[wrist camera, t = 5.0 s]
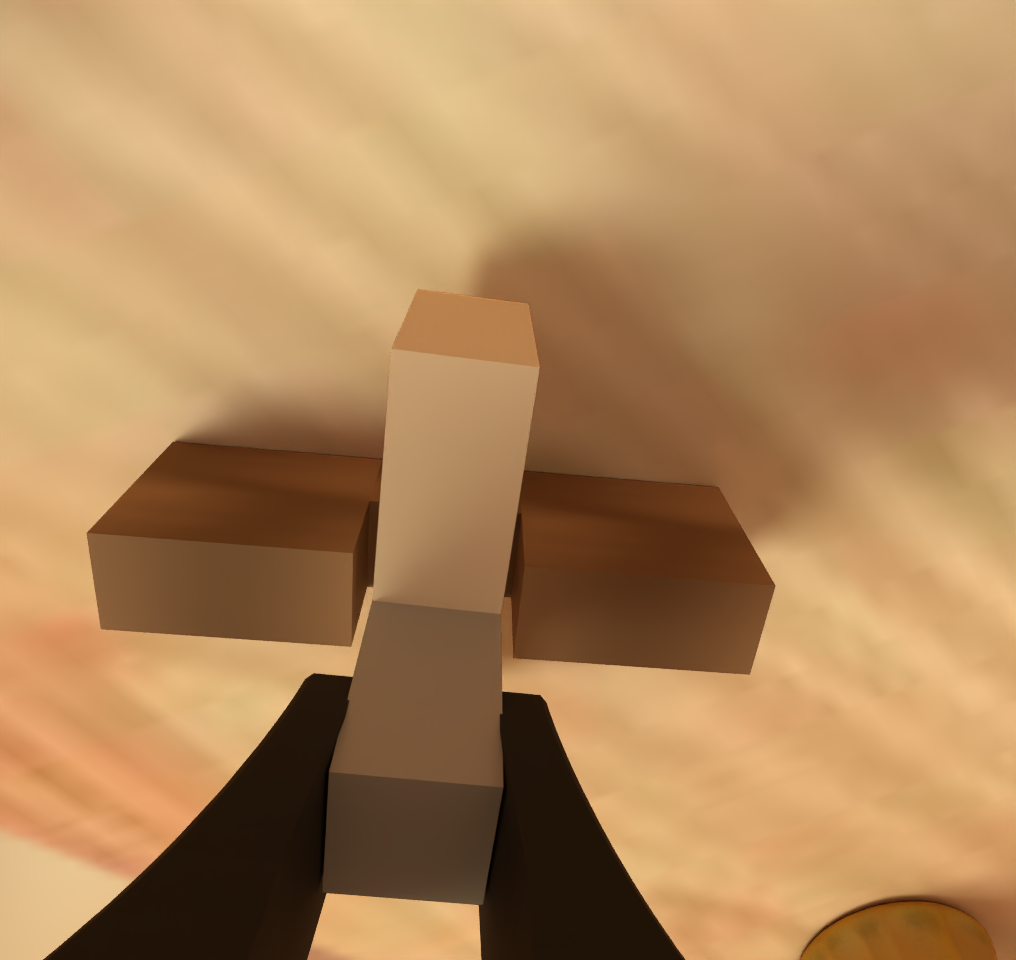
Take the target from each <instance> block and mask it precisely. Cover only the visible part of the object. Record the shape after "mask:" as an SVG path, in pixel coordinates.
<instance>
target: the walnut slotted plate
mask: <svg viewBox="0 0 1016 960" xmlns="http://www.w3.org/2000/svg"><path fill="white" fill-rule="evenodd" d="M382 465H383V459H373V458H361V457H349V456H337V455H325V454H313V453H301V452H289V451H277V450H265V449H253V448H241V447H229V446H217V445H205V444H193V443H181V442H172V443H171V444H170V446H169V447H168V448H167V449H166V450H165V451H164V452H163V453H162V454H161V455H160V456H159V457H158V458H157V459H156V460H155V461H154V462H153V463H152V465H151V466H150V467H149V468H148V469H147V470H146V471H145V472H144V473H143V474H142V475H141V476H140V477H139V478H138V479H137V480H136V481H135V482H134V484H133V485H132V486H131V487H130V488H129V489H128V490H127V491H126V492H125V493H124V494H123V495H122V496H121V497H120V498H119V499H118V500H117V501H116V503H115V504H114V505H113V506H112V507H111V508H110V509H109V510H108V511H107V512H106V513H105V514H104V515H103V516H102V517H101V518H100V519H99V521H98V522H97V523H96V524H95V525H94V526H93V527H92V528H91V529H90V530H89V531H88V532H87V538H88V545H89V552H90V559H91V565H92V572H93V579H94V585H95V592H96V599H97V606H98V612H99V619H100V626H101V629H106V630H120V631H134V632H149V633H163V634H177V635H191V636H206V637H220V638H234V639H249V640H263V641H277V642H291V643H306V644H320V645H334V646H348V647H351V646H352V642H353V638H354V634H355V631H356V627H357V623H358V619H359V615H360V612H361V608H362V604H363V600H364V597H365V593H366V589H367V587H373V585H374V572H375V558H376V545H377V532H378V518H379V505H380V492H381V479H382ZM774 589H775V584H774V582H773V581H772V579H771V577H770V575H769V574H768V572H767V570H766V569H765V567H764V565H763V563H762V562H761V560H760V558H759V556H758V555H757V553H756V551H755V550H754V548H753V546H752V544H751V543H750V541H749V539H748V538H747V536H746V534H745V532H744V531H743V529H742V527H741V525H740V524H739V522H738V520H737V519H736V517H735V515H734V513H733V512H732V510H731V508H730V506H729V505H728V503H727V501H726V500H725V498H724V496H723V494H722V493H721V491H720V489H719V488H718V487H709V486H697V485H685V484H673V483H661V482H649V481H637V480H625V479H613V478H601V477H589V476H577V475H565V474H553V473H541V472H529V471H523V478H522V484H521V491H520V497H519V503H518V510H517V516H516V523H515V529H514V535H513V542H512V548H511V555H510V561H509V567H508V574H507V580H506V587H505V593H504V597H511V601H512V631H513V658H520V659H534V660H548V661H563V662H577V663H591V664H606V665H620V666H634V667H648V668H663V669H677V670H691V671H705V672H720V673H734V674H748V675H750V672H751V669H752V665H753V662H754V658H755V655H756V651H757V648H758V644H759V641H760V638H761V634H762V631H763V627H764V624H765V620H766V617H767V613H768V610H769V606H770V603H771V599H772V596H773V592H774Z"/></svg>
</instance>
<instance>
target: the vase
mask: <svg viewBox="0 0 1016 960" xmlns="http://www.w3.org/2000/svg"><path fill="white" fill-rule="evenodd" d="M800 960H997V957H996V953H995V949H994V946H993V943H992V941H991V939H990V937H989V935H988V933H987V932H986V930H985V929H984V928H983V927H982V926H981V925H980V923H979V922H977V921H976V920H975V919H974V918H972V917H971V916H969V915H967V914H966V913H964V912H962V911H960V910H957V909H955V908H952V907H949V906H946V905H942V904H937V903H932V902H922V901H908V902H895V903H888V904H883V905H878V906H874V907H870V908H867V909H864V910H861V911H859V912H856V913H853V914H851V915H849V916H847V917H845V918H843V919H841V920H839V921H838V922H836V923H834V924H833V925H831V926H829V927H828V928H827V929H825V930H824V931H823V932H821V933H820V934H819V935H818V936H817V937H816V938H815V939H814V940H813V941H812V942H811V944H810V945H809V946H808V947H807V949H806V950H805V952H804V953H803V955H802V957H801V959H800Z"/></svg>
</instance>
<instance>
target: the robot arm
mask: <svg viewBox="0 0 1016 960" xmlns="http://www.w3.org/2000/svg"><path fill="white" fill-rule="evenodd" d="M352 679H353V677H346V676H336V675H326V674H315V673H314V674H312V675H311V676H309V677H308V678H306V679H305V680H304V682H303V684H302V685H301V687H300V688H299V690H298V692H297V693H296V695H295V696H294V698H293V699H292V701H291V702H290V703H289V705H288V706H287V708H286V709H285V711H284V712H283V713H282V715H281V716H280V718H279V719H278V720H277V722H276V723H275V724H274V726H273V727H272V728H271V730H270V731H269V732H268V734H267V735H266V736H265V737H264V739H263V740H262V741H261V743H260V744H259V745H258V746H257V748H256V749H255V750H254V751H253V752H252V754H251V755H250V756H249V757H248V759H247V760H246V761H245V762H244V763H243V765H242V766H241V767H240V768H239V770H238V771H237V772H236V773H235V774H234V776H233V777H232V778H231V779H230V780H229V782H228V783H227V784H226V785H225V786H224V787H223V789H222V790H221V791H220V792H219V793H218V794H217V795H216V796H215V797H214V799H213V800H212V801H211V802H210V803H209V804H208V805H207V806H206V807H205V808H204V809H203V810H202V812H201V813H200V814H199V815H198V816H197V817H196V818H195V819H194V820H193V821H192V822H191V823H190V825H189V826H188V827H187V828H186V829H185V830H184V831H183V832H182V833H181V834H180V835H179V836H178V837H177V838H176V840H175V841H174V842H173V843H172V844H171V845H170V846H169V847H168V848H167V849H166V850H165V851H164V852H163V853H162V854H161V855H160V856H159V857H158V858H157V859H156V860H155V861H154V862H153V863H152V864H151V865H149V866H148V867H147V868H146V869H145V870H144V871H143V872H142V873H141V874H140V875H139V876H138V877H137V878H136V879H135V880H134V881H133V882H132V883H131V884H129V885H128V886H127V887H126V888H125V889H124V890H123V891H122V892H121V893H120V894H119V895H118V896H117V897H116V898H114V899H113V900H112V901H111V902H110V903H109V904H108V905H107V906H105V907H104V908H103V909H102V910H101V911H100V912H99V913H98V914H96V915H95V916H94V917H93V918H92V919H91V920H89V921H88V922H87V923H86V924H85V925H83V926H82V927H81V928H80V929H79V930H78V931H77V932H75V933H74V934H73V935H72V936H71V937H70V938H68V939H67V940H66V941H65V942H64V943H63V944H62V945H61V946H59V947H58V948H57V949H56V950H54V951H53V952H52V953H51V954H49V955H48V956H47V957H46V958H45V959H43V960H307V958H308V955H309V951H310V948H311V944H312V941H313V938H314V934H315V931H316V927H317V924H318V920H319V917H320V914H321V910H322V907H323V903H324V900H325V896H326V893H323V875H324V856H325V838H326V819H327V801H328V782H329V770H330V766H331V762H332V758H333V754H334V750H335V746H336V742H337V738H338V735H339V733H340V730H341V727H342V725H343V722H344V719H345V716H346V712H347V708H348V704H349V700H347V699H348V695H349V691H350V687H351V683H352ZM500 736H501V744H502V751H503V792H502V798H501V804H500V809H499V815H498V821H497V826H496V832H495V837H494V843H493V849H492V854H491V860H490V866H489V871H488V877H487V883H486V888H485V894H484V900H483V905H479V918H480V938H481V958H482V960H685V958H684V957H683V956H682V954H681V953H680V952H679V950H678V949H677V948H676V946H675V945H674V943H673V942H672V940H671V939H670V937H669V936H668V934H667V933H666V932H665V930H664V929H663V927H662V926H661V924H660V923H659V921H658V920H657V918H656V917H655V915H654V914H653V912H652V911H651V909H650V908H649V906H648V905H647V903H646V902H645V900H644V898H643V897H642V895H641V894H640V892H639V890H638V889H637V887H636V886H635V884H634V882H633V881H632V879H631V877H630V876H629V874H628V872H627V871H626V869H625V867H624V866H623V864H622V862H621V860H620V859H619V857H618V855H617V854H616V852H615V850H614V849H613V847H612V845H611V843H610V841H609V839H608V838H607V836H606V834H605V832H604V830H603V829H602V827H601V825H600V823H599V821H598V819H597V817H596V815H595V813H594V811H593V809H592V807H591V805H590V803H589V801H588V799H587V797H586V795H585V793H584V792H583V790H582V788H581V785H580V783H579V781H578V779H577V777H576V775H575V773H574V771H573V768H572V766H571V764H570V762H569V759H568V757H567V755H566V753H565V750H564V748H563V746H562V743H561V741H560V738H559V736H558V733H557V731H556V728H555V726H554V723H553V720H552V718H551V715H550V712H549V709H548V706H547V703H546V701H545V700H544V699H543V698H542V697H541V695H533V694H522V693H512V692H502V714H500Z"/></svg>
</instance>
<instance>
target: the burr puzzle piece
mask: <svg viewBox="0 0 1016 960" xmlns="http://www.w3.org/2000/svg"><path fill="white" fill-rule="evenodd" d="M539 369H540V366H539V360H538V355H537V349H536V344H535V338H534V332H533V327H532V321H531V316H530V310H529V304H527V303H520V302H512V301H505V300H497V299H490V298H482V297H474V296H467V295H459V294H452V293H444V292H437V291H429V290H421V289H418V290H417V292H416V294H415V297H414V299H413V301H412V303H411V305H410V308H409V310H408V312H407V314H406V317H405V319H404V321H403V323H402V326H401V328H400V330H399V332H398V335H397V337H396V339H395V341H394V344H393V346H392V348H391V359H390V372H389V385H388V399H387V412H386V425H385V439H384V452H383V465H382V479H381V492H380V505H379V518H378V532H377V545H376V558H375V572H374V585H373V598H372V604H371V608H370V612H369V616H368V620H367V624H366V628H365V632H364V636H363V640H362V644H361V647H360V651H359V655H358V659H357V663H356V667H355V671H354V675H353V679H352V683H351V687H350V691H349V695H348V699H347V700H349V704H348V708H347V712H346V716H345V719H344V722H343V725H342V727H341V730H340V733H339V735H338V738H337V742H336V746H335V750H334V754H333V758H332V762H331V766H330V770H329V782H328V801H327V819H326V838H325V856H324V875H323V893H334V894H347V895H359V896H372V897H385V898H398V899H410V900H423V901H436V902H449V903H461V904H474V905H483V900H484V894H485V888H486V883H487V877H488V871H489V866H490V860H491V854H492V849H493V843H494V837H495V832H496V826H497V821H498V815H499V809H500V804H501V798H502V792H503V751H502V744H501V736H500V714H502V640H501V612H502V606H503V599H504V593H505V587H506V580H507V574H508V567H509V561H510V555H511V548H512V542H513V535H514V529H515V523H516V516H517V510H518V503H519V497H520V491H521V484H522V478H523V471H524V465H525V459H526V452H527V446H528V440H529V433H530V427H531V420H532V414H533V408H534V401H535V395H536V388H537V382H538V376H539Z"/></svg>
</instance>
